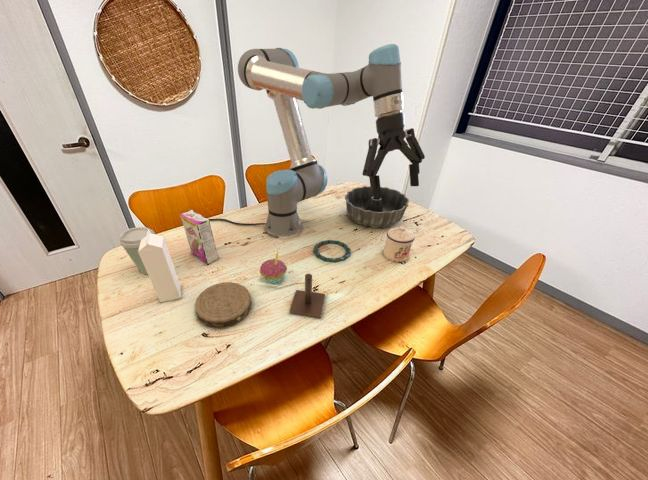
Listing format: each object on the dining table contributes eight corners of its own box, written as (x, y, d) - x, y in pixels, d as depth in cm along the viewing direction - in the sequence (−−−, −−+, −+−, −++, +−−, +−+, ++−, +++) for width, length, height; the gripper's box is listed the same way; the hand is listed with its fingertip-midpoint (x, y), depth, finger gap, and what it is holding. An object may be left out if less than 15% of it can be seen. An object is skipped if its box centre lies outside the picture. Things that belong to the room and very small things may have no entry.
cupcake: (291, 275, 93) (290, 245, 86) (279, 291, 87) (277, 260, 80) (268, 269, 96) (266, 240, 89) (256, 284, 90) (252, 254, 83)
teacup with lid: (394, 265, 96) (402, 237, 89) (377, 252, 103) (382, 224, 96) (419, 256, 101) (428, 228, 93) (401, 244, 107) (408, 216, 100)
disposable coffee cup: (159, 256, 103) (145, 220, 94) (172, 269, 97) (159, 232, 88) (129, 269, 97) (112, 232, 88) (141, 283, 91) (124, 245, 82)
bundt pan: (373, 241, 109) (378, 218, 103) (330, 215, 126) (332, 194, 120) (416, 222, 120) (423, 200, 114) (372, 201, 138) (375, 181, 132)
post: (289, 313, 80) (288, 284, 73) (296, 292, 87) (295, 264, 80) (320, 318, 78) (322, 289, 71) (324, 296, 85) (327, 267, 78)
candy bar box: (190, 253, 105) (178, 214, 95) (202, 247, 107) (191, 209, 97) (207, 265, 99) (196, 224, 88) (219, 259, 101) (210, 219, 91)
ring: (310, 261, 99) (310, 257, 98) (316, 241, 110) (316, 237, 108) (349, 266, 97) (349, 262, 96) (351, 245, 107) (351, 241, 106)
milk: (160, 302, 84) (132, 241, 71) (161, 289, 89) (135, 230, 75) (181, 298, 85) (157, 237, 72) (181, 285, 90) (159, 226, 76)
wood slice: (186, 309, 82) (183, 302, 80) (229, 282, 91) (227, 275, 89) (218, 338, 73) (216, 331, 71) (262, 305, 82) (261, 298, 81)
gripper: (358, 121, 70) (369, 204, 78) (436, 102, 76) (438, 181, 84) (343, 126, 77) (354, 202, 85) (416, 108, 83) (420, 181, 90)
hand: (396, 192), depth 84 cm, fingers open, 13 cm apart
